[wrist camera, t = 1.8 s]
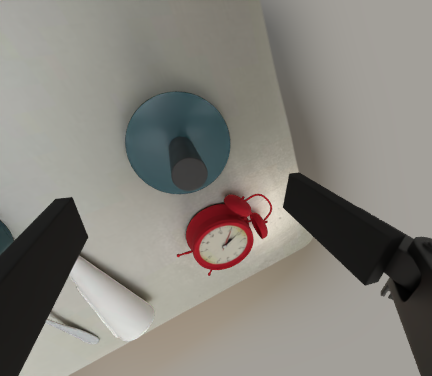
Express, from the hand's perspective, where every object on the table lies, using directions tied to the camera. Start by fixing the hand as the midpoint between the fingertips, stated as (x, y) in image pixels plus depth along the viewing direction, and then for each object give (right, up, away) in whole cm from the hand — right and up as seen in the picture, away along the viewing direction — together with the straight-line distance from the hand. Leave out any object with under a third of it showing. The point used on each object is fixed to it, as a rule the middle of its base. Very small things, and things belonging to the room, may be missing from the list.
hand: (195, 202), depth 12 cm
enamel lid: (-3, +6, +11) cm, 13 cm away
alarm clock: (+3, -5, +19) cm, 20 cm away
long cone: (-16, -13, +18) cm, 27 cm away
